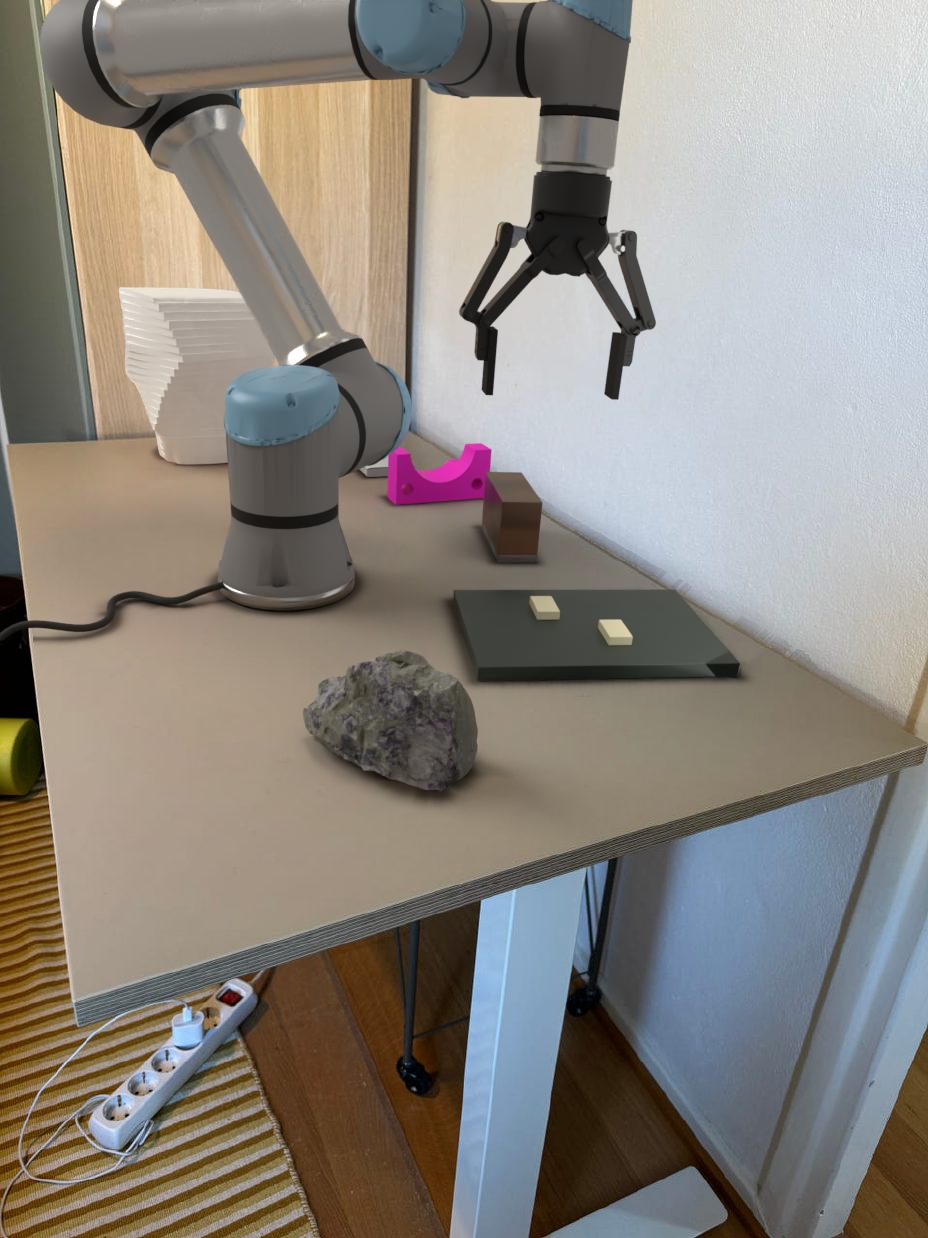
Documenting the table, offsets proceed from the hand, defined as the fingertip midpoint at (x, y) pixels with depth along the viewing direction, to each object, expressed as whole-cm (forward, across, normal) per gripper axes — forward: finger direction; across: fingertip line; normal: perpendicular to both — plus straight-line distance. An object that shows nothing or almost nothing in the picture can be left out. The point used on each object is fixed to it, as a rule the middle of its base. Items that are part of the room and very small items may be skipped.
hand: (549, 395), depth 93 cm
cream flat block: (+21, -5, +16) cm, 27 cm away
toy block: (+23, +7, -36) cm, 43 cm away
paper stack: (+24, +40, -56) cm, 73 cm away
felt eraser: (+23, 0, -14) cm, 27 cm away
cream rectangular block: (+21, +1, +10) cm, 23 cm away
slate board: (+22, -3, +13) cm, 26 cm away
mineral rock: (+22, +19, +33) cm, 44 cm away
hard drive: (+23, +15, -52) cm, 58 cm away
